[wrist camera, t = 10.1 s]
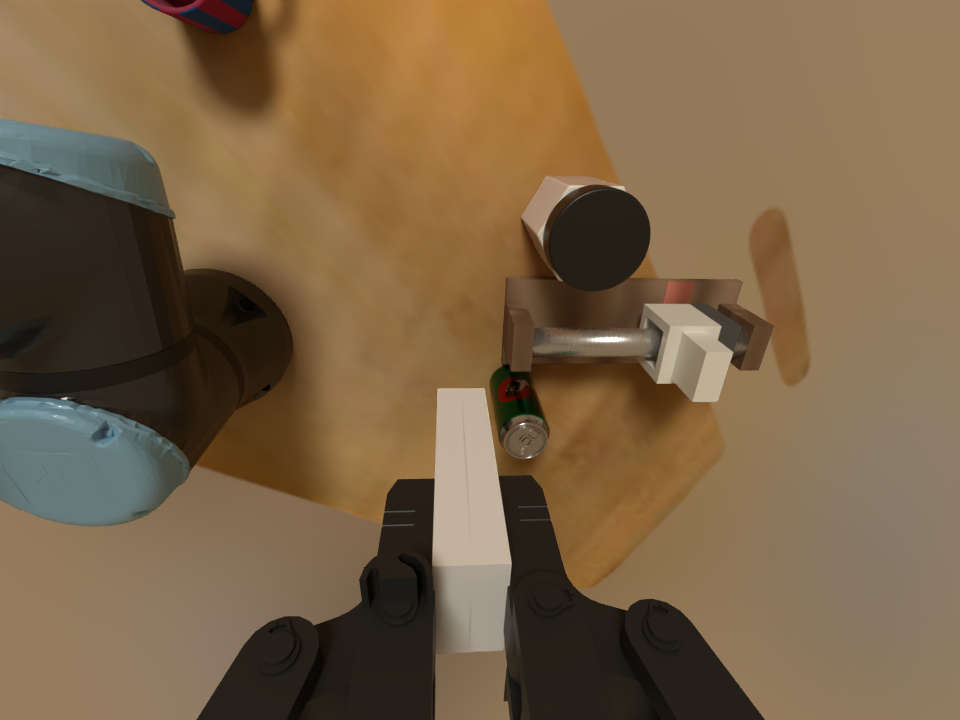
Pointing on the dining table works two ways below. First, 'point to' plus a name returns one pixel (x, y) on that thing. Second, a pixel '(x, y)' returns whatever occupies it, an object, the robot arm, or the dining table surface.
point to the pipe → (607, 342)
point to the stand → (614, 314)
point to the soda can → (518, 413)
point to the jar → (587, 231)
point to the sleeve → (687, 351)
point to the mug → (206, 13)
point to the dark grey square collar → (728, 329)
